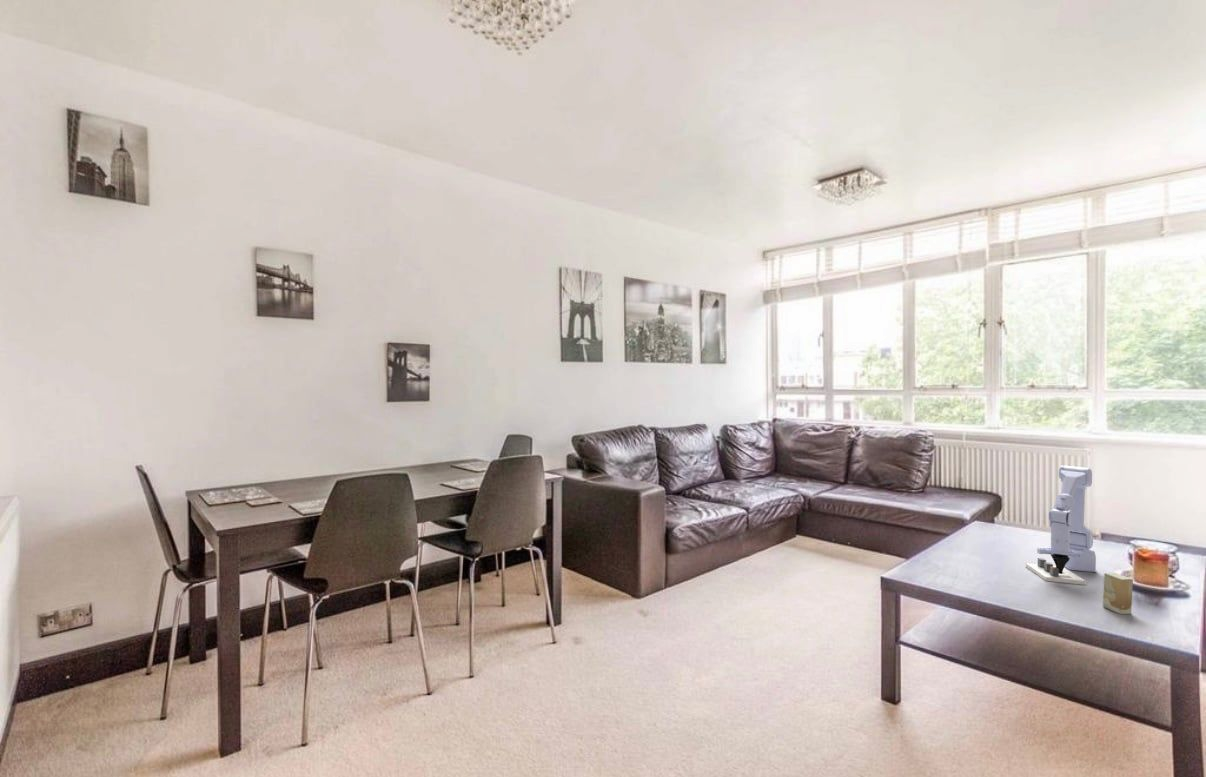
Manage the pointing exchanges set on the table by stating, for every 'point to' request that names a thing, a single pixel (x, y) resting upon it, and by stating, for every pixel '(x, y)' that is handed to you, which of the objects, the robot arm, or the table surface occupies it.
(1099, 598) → the table surface
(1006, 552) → the table surface
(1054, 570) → the breaker
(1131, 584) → the skincare box
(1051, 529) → the robot arm
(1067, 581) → the breaker panel
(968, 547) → the table surface
